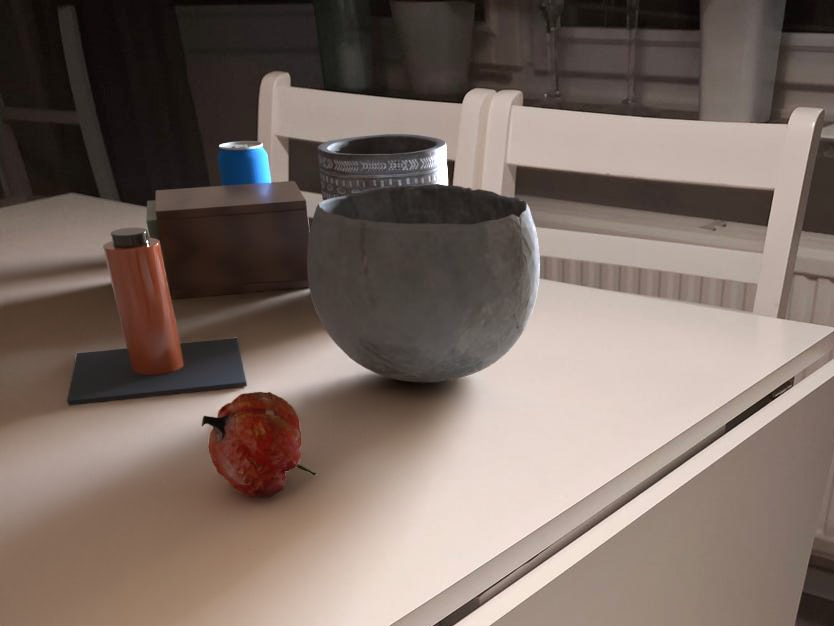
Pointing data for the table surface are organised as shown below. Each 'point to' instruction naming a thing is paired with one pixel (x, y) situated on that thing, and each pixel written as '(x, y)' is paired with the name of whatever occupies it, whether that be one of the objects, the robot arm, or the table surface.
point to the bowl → (423, 278)
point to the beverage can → (243, 163)
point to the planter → (380, 163)
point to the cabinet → (234, 238)
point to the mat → (115, 379)
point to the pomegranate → (255, 443)
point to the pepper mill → (143, 301)
